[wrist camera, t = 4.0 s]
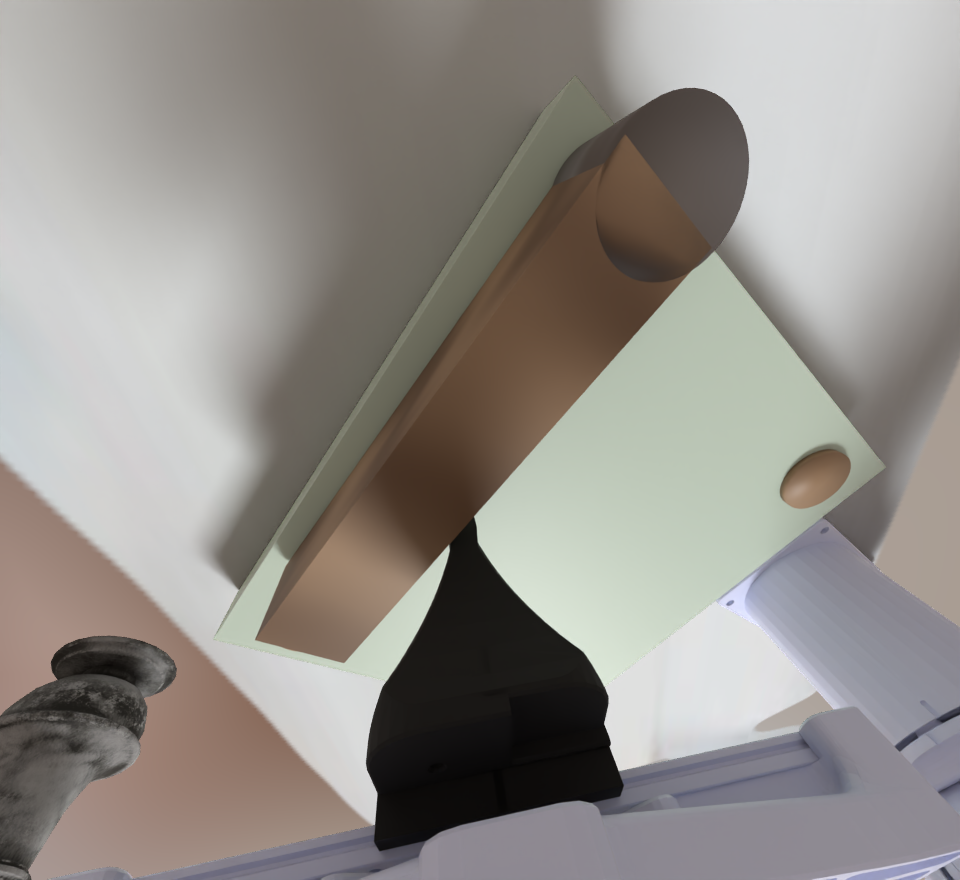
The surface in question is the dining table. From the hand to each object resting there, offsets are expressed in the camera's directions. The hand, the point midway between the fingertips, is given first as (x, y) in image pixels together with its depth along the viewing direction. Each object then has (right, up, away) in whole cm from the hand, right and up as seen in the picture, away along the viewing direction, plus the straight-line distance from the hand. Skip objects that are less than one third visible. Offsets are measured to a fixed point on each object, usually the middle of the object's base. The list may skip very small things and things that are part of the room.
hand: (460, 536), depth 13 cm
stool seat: (+4, 0, +5) cm, 6 cm away
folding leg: (0, +4, -1) cm, 5 cm away
